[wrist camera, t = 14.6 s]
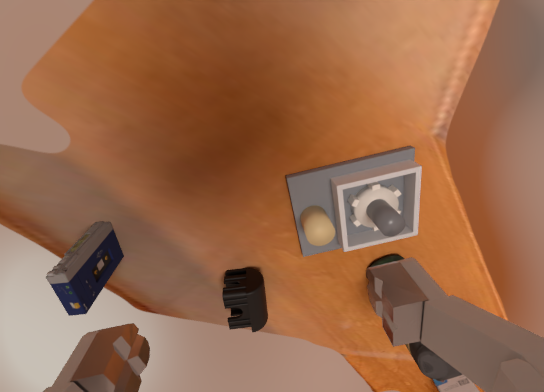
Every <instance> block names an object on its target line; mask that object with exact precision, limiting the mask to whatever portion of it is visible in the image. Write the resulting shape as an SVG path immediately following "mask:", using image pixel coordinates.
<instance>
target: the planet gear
mask: <svg viewBox="0 0 544 392" xmlns="http://www.w3.org/2000/svg"><path fill="white" fill-rule="evenodd" d="M367 185H368V186H366V187H364V188H362V189H361V190H360V191H358V192H357V194H356V195H352V194H351V195H350V197H349V199H348V202H349V203H350V204H351V209H352V213H353V214H352V215H351V216H350V217H349V218H350V219H351V220H352V222H353V223H354V224H355V225H356V226H357V227H358V226H359V225H360V224H362V225H364V226H366V227H371V228H372V229H373V230H374V231H376V230H380V231H381V233H382V234H383V235H385V236H388V237H392V236H396V235H398V234H399V233H401V232H402V231H403V229H404V228H405V224H406V222H405V219H404V218H403V217H402V216H401V215H400V213H401V211H400V210H399V209H398V206H399V201H398V198H397V197H398V196H400V195H401V192H400V191H399V190H398V189H397V188H396V187H395V186H393V185H391V186H389V187H388V188H387V187H386V186H384V185H381V184H379V183H378V182H373V183H369V184H367Z"/></svg>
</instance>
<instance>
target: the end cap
mask: <svg viewBox="0 0 544 392" xmlns="http://www.w3.org/2000/svg"><path fill="white" fill-rule="evenodd" d="M224 284H226V288H223V301H224V306H225V309H226V308H231V316H237V317H229V318H228V323H229V328H230V329H237V328H245V327H252V332H256V331H258V330H260V329H262V328H263V327H264V325H265V324H266V322H267V319H268V313H267V304H266V295H265V287H264V279H263V276H262V274H261V273H260V272H259V271H257V270H255V269H250V268H242V269H233V270H227V271H226V273H225V277H224ZM239 315H240V316H239Z"/></svg>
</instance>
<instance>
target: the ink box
mask: <svg viewBox="0 0 544 392" xmlns="http://www.w3.org/2000/svg"><path fill="white" fill-rule="evenodd" d="M433 381H434V383H435V385H436V387H437V388H438V390H439V392H480V391H479V390H478V389H477V387H476V386H475V385H474V383H473V382H472V381H471V380H469V379H468V378H467V377H466V376H464V375H460V376H457V377H454V378H451V379H447V380H444V381H437V380H435V379H433Z"/></svg>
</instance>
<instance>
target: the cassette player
mask: <svg viewBox="0 0 544 392" xmlns="http://www.w3.org/2000/svg"><path fill="white" fill-rule="evenodd" d="M123 257H124V256H123V253H122V250H121V248H120V245H119V243H118V240H117V238H116V235H115V233H114V230H113V227H112V225H111V222H95V223H94V224H93V225H92V226H91V227H90V228H89V229H88V231H87V232H86V233H85V234H84V235H83V236H82V237H81V238H80V239H79V240H78V241H77V242H76V243H75V244H74V245H73V246H72V247H71V248H70V249H69V250H68V251H67V252H66V253H65V256H64V258H63V259H62V260H61V261H60V262H59V264H58V265H57V266H54V267H53V270H52V271H50V272H48V273H47V276H46V279H47V280H48V282H49V283H50V285H51V286H52V288H53V290H54V291H55V293H56V295H57V296H58V298H59V300H60V301H61V303H62V305H63V306H64V308H65V310H66V311H67V313H68V314H69V315H79V314H86V313H87V312H88V310H89V309H90V307H91V306H92V304H93V302H94V301H95V299H96V298H97V296H98V295H99V293H100V292H101V290H102V289H103V287H104V286H105V284H106V283H107V281H108V279H109V278H110V276H111V275H112V273H113V272H114V270H115V269H116V267H117V266H118V264H119V263H120V261H121V260H122V258H123Z"/></svg>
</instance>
